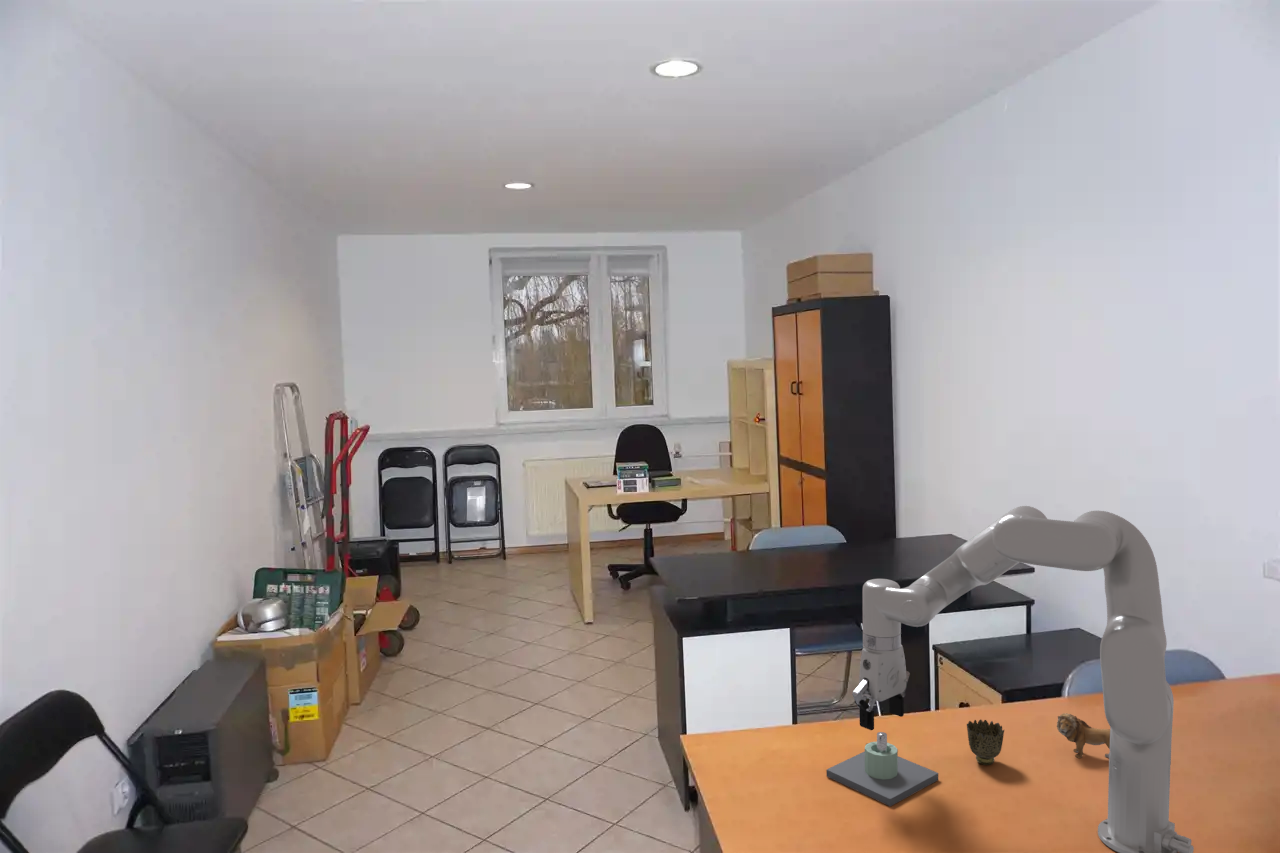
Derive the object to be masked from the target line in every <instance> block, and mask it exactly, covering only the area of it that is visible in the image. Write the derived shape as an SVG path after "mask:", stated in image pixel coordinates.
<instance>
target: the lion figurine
mask: <svg viewBox="0 0 1280 853" xmlns="http://www.w3.org/2000/svg"><path fill="white" fill-rule="evenodd" d="M1056 728H1057V730H1058V732H1059V733H1060V734H1061V735H1063V736H1064V737H1066V740H1067V741H1069V742H1071V743H1072V742H1073V743H1075V748H1073V750H1072V751H1073V752H1074V753H1075V755H1074V756H1076V757H1075V758H1077V759H1081V758H1083V755H1084V746H1085V745H1086V744H1087V745H1091V746H1100V745H1106V746H1107V748H1108V749H1109V750H1110V728H1109V729H1108V728H1097V727H1096V728H1094V727H1091V726H1090V725H1088V723H1087V722H1086V721H1084V720H1082V719H1080V718H1078V717H1077V716H1076V715H1073V714H1071V713H1064V712H1063V713H1061V714H1059V715H1058V716H1057V722H1056ZM1104 757H1105V758H1108V759H1109V753H1105V754H1104Z"/></svg>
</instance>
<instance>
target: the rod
mask: <svg viewBox="0 0 1280 853" xmlns="http://www.w3.org/2000/svg"><path fill="white" fill-rule="evenodd" d="M876 742H877V752H878V753H887V743H888V734H887V733H886V732H883V731H880V732H879V731H878V732H877V733H876Z"/></svg>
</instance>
